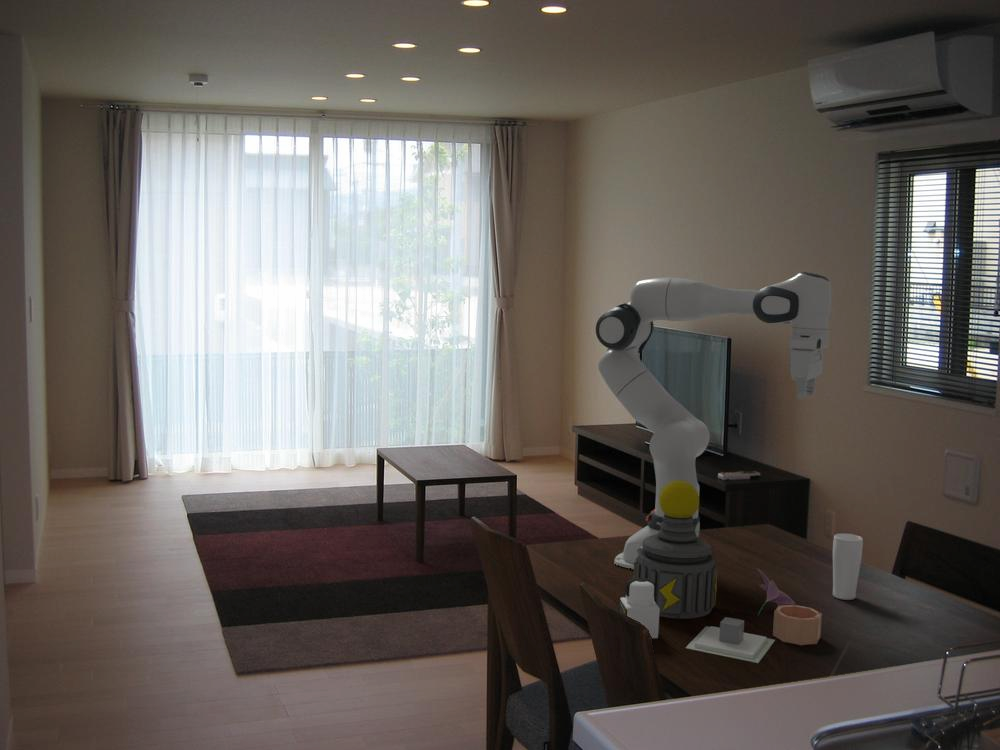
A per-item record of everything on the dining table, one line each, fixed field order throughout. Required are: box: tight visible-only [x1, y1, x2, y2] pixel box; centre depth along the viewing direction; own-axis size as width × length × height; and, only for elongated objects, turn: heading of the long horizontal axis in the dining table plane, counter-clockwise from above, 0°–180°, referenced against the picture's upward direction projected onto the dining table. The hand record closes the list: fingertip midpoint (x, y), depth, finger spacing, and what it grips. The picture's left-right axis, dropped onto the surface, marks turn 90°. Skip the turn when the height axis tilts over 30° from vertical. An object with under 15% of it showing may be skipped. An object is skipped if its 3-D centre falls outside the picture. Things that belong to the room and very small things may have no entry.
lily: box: [756, 567, 796, 617], centre depth 240 cm, size 12×12×10 cm
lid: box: [695, 616, 768, 659], centre depth 218 cm, size 12×12×5 cm
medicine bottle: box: [619, 577, 660, 639], centre depth 223 cm, size 7×7×12 cm
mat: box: [685, 625, 776, 664], centre depth 219 cm, size 15×15×1 cm
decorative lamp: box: [633, 480, 719, 620], centre depth 240 cm, size 19×19×30 cm
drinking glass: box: [832, 533, 864, 601], centre depth 253 cm, size 7×7×15 cm
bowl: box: [772, 604, 823, 646], centre depth 224 cm, size 9×9×6 cm
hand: (805, 396), depth 255 cm, fingers open, 8 cm apart
